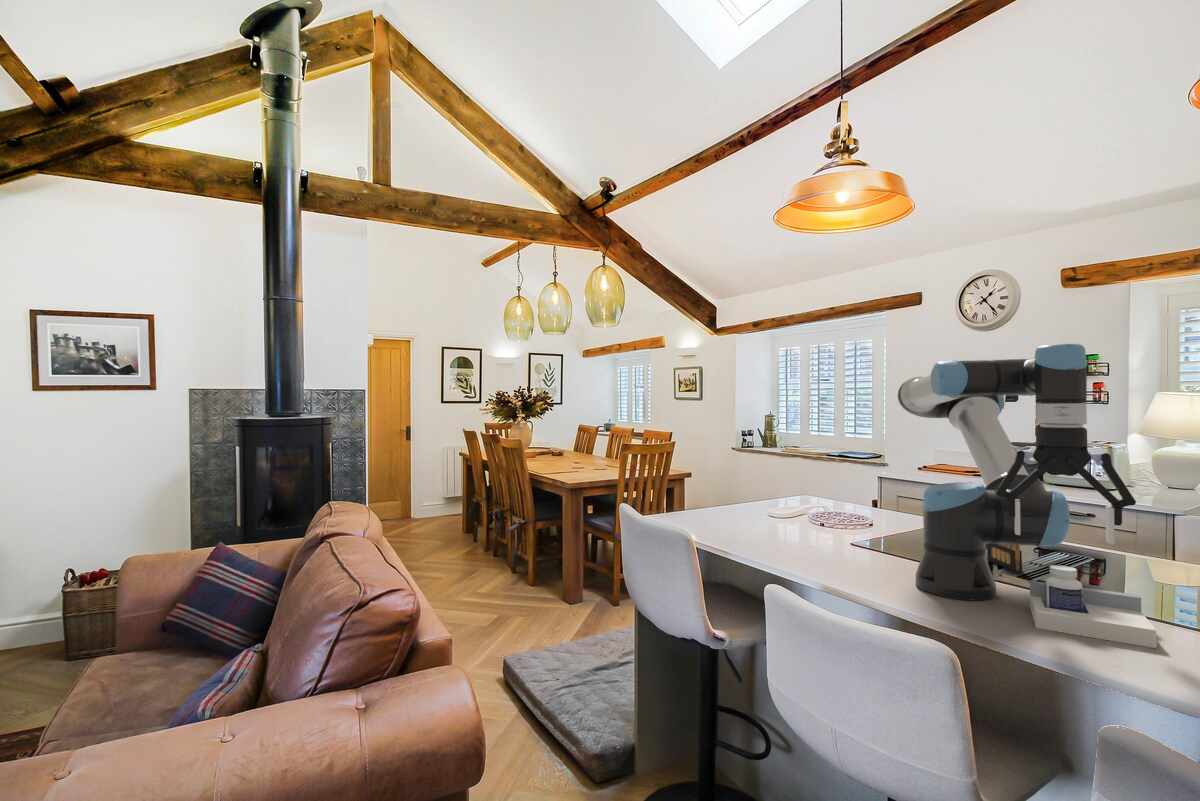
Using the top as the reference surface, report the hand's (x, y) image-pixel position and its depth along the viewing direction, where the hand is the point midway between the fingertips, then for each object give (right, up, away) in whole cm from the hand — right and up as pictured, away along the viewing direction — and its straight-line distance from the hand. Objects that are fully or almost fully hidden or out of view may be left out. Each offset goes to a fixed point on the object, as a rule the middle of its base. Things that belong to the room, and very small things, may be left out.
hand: (1062, 538), depth 106 cm
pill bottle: (0, -16, -1) cm, 16 cm away
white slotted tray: (+2, -16, -3) cm, 16 cm away
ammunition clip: (+15, -16, +36) cm, 42 cm away
